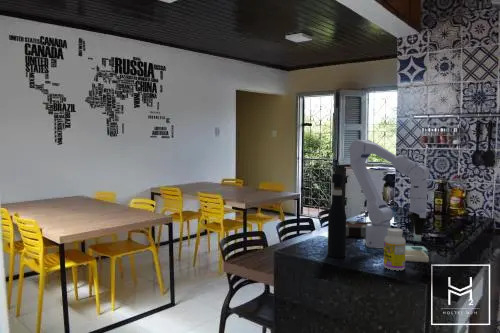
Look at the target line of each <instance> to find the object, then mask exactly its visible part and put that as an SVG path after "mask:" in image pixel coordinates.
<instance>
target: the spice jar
mask: <svg viewBox="0 0 500 333" xmlns="http://www.w3.org/2000/svg"><path fill="white" fill-rule="evenodd" d="M413 241H414V242H422V235H416V234H415V230H414V233H413Z"/></svg>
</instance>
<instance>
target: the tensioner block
mask: <svg viewBox="0 0 500 333" xmlns="http://www.w3.org/2000/svg"><path fill="white" fill-rule="evenodd" d="M405 250H417V251H423V252H424V253H425V254H426V255H427V256H428V255H429V254H428V253H429V252H428V251H429V250H428V249H427V248H426V247H425V246H424V245H423V246H421V245H420V246H419V245H417V246H415V245H406V246H405Z"/></svg>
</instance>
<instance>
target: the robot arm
mask: <svg viewBox="0 0 500 333" xmlns="http://www.w3.org/2000/svg"><path fill="white" fill-rule="evenodd" d="M348 152H349V163H350V164H349V165H350V167H351V170H352V171H353V172H352V173H353V174H354V176H355V178H356V180H357V182H358V184H359V186H360V189H361V191H362V193H363V195H364V197H365V200H366V201H367V208H366V209H367V212H368V219H369V222H372V223H371V224H366V238H365V237H364V238H365V240H364V241H365V242H364V243H365V245H366V247H367V248H370V249H371V248H372V249H373V248H375V249H384V239H385V237H386V236H388V233H387V230H388V229H389V228H391V220H393V218H394V211H393V210H392V208H391V207H389V205H388V203H387V202H386V201H385V200H384V199H382V197H381V194H380V193H379V191H378V189H377V186H376V185H375V183H374V180H373V179H372V177H371V175H370V173H369V170H368V169H367V166H366V162H367V160H368V158H369V157H370V156H371V155H376V156H377V157H379V158H381V159H384V160H385V161H386V162H390V163H391V164H392V167H393V168H394V169H395V170H396V171H398V172H400V173H402V174H404V175H405V176H407V177H408V179H410V185H409V186H410V188H409V189H410V195H409V208H408V210H409V212H411V213H407V215H408V217H409V220H410V222H411V223H410V224H411V229H412V232H413V234H414V230H415V234H416V235H421V236H422V235H423V232H424V228H425V225H426V223H427V221H428V219H429V217H428V216H427V213H430V212H431V210H430V209H428V208H427V204H428V203H427V201H428V199H427V197H428V179H429V177H430V175H431V174H430V173H431V172H430V169H429V168H428V167H427V166H426V165H422V164H420V163H419V162H418V161H414V160H411V159H410V158H409V157H408V155H406V154H405V155H403V154H399V155H396V154H395V153H392V152H391V151H390V150H388V149H387V148H384V147H383V146H381V145H380V144H378V143H377V142H375V141H371V139H354V140H352V142H351V143H350V145H349V147H348Z"/></svg>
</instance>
